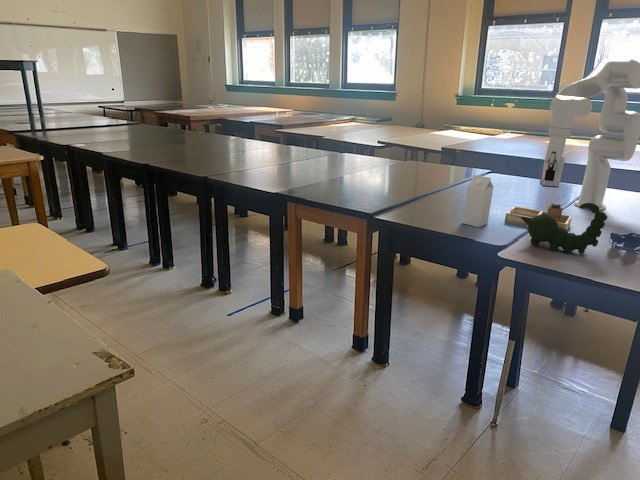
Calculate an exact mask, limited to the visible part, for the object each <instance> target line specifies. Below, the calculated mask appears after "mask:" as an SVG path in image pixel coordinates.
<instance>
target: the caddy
mask: <svg viewBox="0 0 640 480" xmlns="http://www.w3.org/2000/svg"><path fill="white" fill-rule="evenodd" d="M563 209H564V208H563V207H562V205H561V204H560V203H555V202H553V203H551V205H549V206H548V208H547V211H543V210H538V209H534V208H527V207H521V206H516V205H514V206H512V207H511V208H510V209H509V210H508V211H507V212H506V213H505V219H504V223H507V224H510V225H517V226H521V225H522V227H526V226H528V225H527V224H526V223H525V222H524V221H523V220H522V218H521V217H530V218H533V217H535V216H538V215H549V216H551V217H553V218H554V219H555V220H556V221H557V223H558V227H562V228H564V229H565V230H567V231H568V229H569V228H570V226H571V221H572V218H573V216H572V215H566V214H563Z"/></svg>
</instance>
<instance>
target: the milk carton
mask: <svg viewBox="0 0 640 480" xmlns="http://www.w3.org/2000/svg"><path fill="white" fill-rule="evenodd" d="M493 192H494V185H493V183H492V179H491V177H489V176H485V175H479V174H478V175H477V174H475V173H474V174H473V175H472V178H471V180H470V181H469V182H468V184H467V187H466V193H465V199H464V200H465V201H464V207H463V215H462V221H461V222H462V224H466V225H469V226H471V227H476V228H480V227H483V226H485V225H487V224H488V222H489V217H490V210H491V204H492V197H493Z"/></svg>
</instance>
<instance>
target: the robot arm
mask: <svg viewBox="0 0 640 480" xmlns="http://www.w3.org/2000/svg"><path fill="white" fill-rule="evenodd" d="M626 89H636V90H637V89H640V62H638V61H637V60H635V59H633V58H632V59H631V58H607V59H603V60H602V61H600V62H598V64H597V65H596V66H595V67H594V68H593V69H592V70H591V71H590V72H589V74H588V75H587V76H586V77H584V78H583V79H579V80H577V81H576V82H573V83H571V84H567V85H566V86H565V87H563V88H561V89H560V91H558V92H557V94H555V96H554V97H553V98H552V100H551V101H550V103H549V104H550V105H549V112H550V113H551V118H550V122H549V123H550V124H549V129H548V133H547V135H548V136H549V137H550V138H549V141H548V145H547V149H546V153H545V158H544V161H545V162H546V161H548V160H549V162H548V166H547V169H546V173H545V178H544V180H547V181H553V180H554V176H555V167H556V164H557V163H559V161H560V158H561V157H563V154H564V151H565V146H566V143H567V138H571V135H572V129H573V126H574V125H573V124H574V120H575V119H584V118H586V117H588V116H589V115H590V114H591V112H592V110H593V102H592V101H591V100H590V98H594V97H597V96H600V95H602V94H604V100H603V105H602V108H601V112H600V117H599V121H598V129H599V130H600V131H601V132H604V133H609V134H610V133H611V134H618V135H623V137H619V136H613V135H605V134H601V135H599V134H598V135H595V136H593V137H592V138H591V139H590V141H589V142H588V152H587V153H588V154H587V155H588V156H587V162H586V168H585V172H584V176H583V181H582V185H581V189H580V194H579V199H578V200H577V199H576V200H575V201H574V205H575V206H576V207H578V208H579V207H580V206H581V205H582V204H584V203H593V204H596V205H597V206H598V207H599V209H600V210H605V209H606V208H607V206H606V204H604V199H605V195H606V190H607V186H608V183H609V180H610V179H609V178H610V174H611V171H612V169H611V164H610V162H609V160H614V161H620V162H621V161H622V162H627V161H630V160H631V159H632V158H633V156H634V155H635V152H636V148H637V144H638V141H639V138H640V112H638V111H632V110H626V109H627V105H628V100H629V96H628V93H627V91H626ZM555 156H556V157H555ZM550 157H551V158H550ZM554 161H555V162H554ZM585 209H586V210H589V209H588V208H585Z"/></svg>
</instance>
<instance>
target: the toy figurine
mask: <svg viewBox="0 0 640 480" xmlns="http://www.w3.org/2000/svg"><path fill="white" fill-rule="evenodd" d="M578 208H579V209H586V208H588V209H587V210H589V211H590V212H591V213H592V214H594V216H593V219H591V221H590V223H589V225H588V226H587V227H586V229H585V231H584V232H582V233H581V234H575V233H574V232H568V230H565V229H564V228H562V227H558V223H557V221H556V220H555V219H554V218H553V217H551V216H549V215H538V216H535V217H533V218H530V217H521V218H522V220H523V221H524V222H525V223H526V224H527V225H528V227H527V231H528V234H529V237H531V239H530V243H531V245H533V246H538V245H540V244H541V243H546V242H547V243H548V245H549V246H548V248H549V249H550V250H553V251H554V250H556V249H558V248H562V249H563V253H564V254H567V255H568V254H570V253H571V252H573V251H575V250H577V252H578V253H579V254H582V255H583V254H584V253H585V251H586V250H587V247H589V246H592V247H593V248H594V247H597V246H598V244H599V239H597V238H600V237H601V235H602V234H603V231H602V229H604V228H605V225H606V223H605V222H606V221H607V219H608V215H607V214H606V212H604V211H600V209H599V207H598V206H597V205H596V204H593V203H584V204H582V205H581V206H580V207H578ZM562 249H561V250H562Z"/></svg>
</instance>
